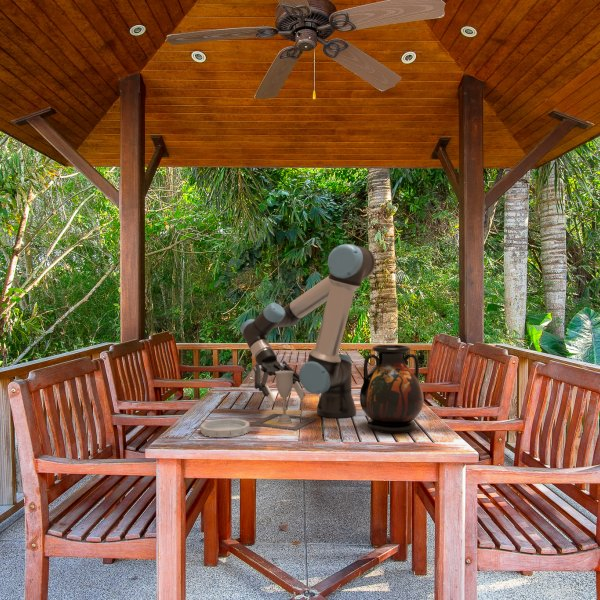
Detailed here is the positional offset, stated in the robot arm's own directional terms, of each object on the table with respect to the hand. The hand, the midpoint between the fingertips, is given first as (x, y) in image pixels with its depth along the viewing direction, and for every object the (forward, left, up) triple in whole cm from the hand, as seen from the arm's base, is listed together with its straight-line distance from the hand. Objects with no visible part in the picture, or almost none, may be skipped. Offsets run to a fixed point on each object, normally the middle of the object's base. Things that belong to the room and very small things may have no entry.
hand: (288, 400), depth 183 cm
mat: (+2, -1, -8) cm, 8 cm away
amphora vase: (-35, -9, -8) cm, 37 cm away
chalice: (+2, -1, -8) cm, 9 cm away
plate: (+14, +19, -8) cm, 25 cm away
